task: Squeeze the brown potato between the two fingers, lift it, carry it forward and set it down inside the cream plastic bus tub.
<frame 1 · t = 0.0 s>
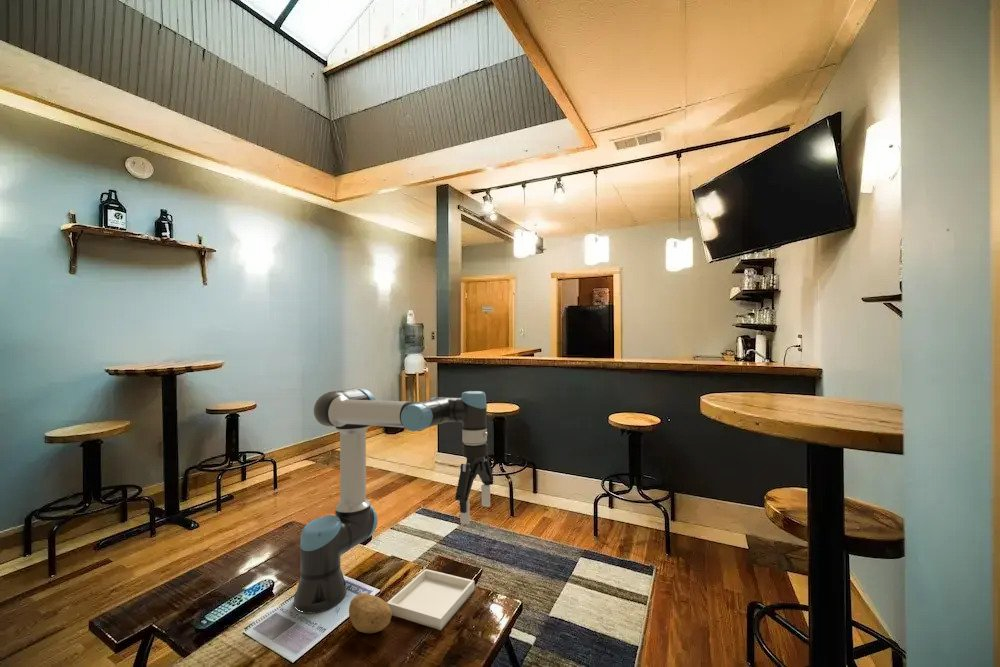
hand: (476, 514, 118), 28 cm above the table, fingers open, 13 cm apart
bin: (432, 601, 121), on the table
potato: (370, 629, 110), on the table
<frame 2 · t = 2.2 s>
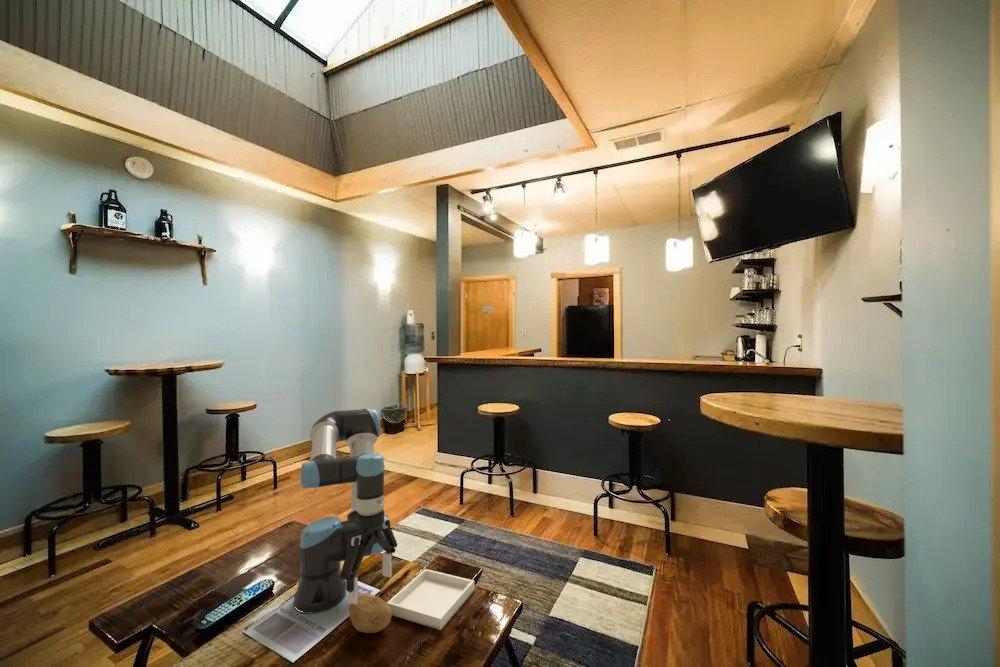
hand: (370, 588, 110), 11 cm above the table, fingers open, 13 cm apart
nothing on the table moved.
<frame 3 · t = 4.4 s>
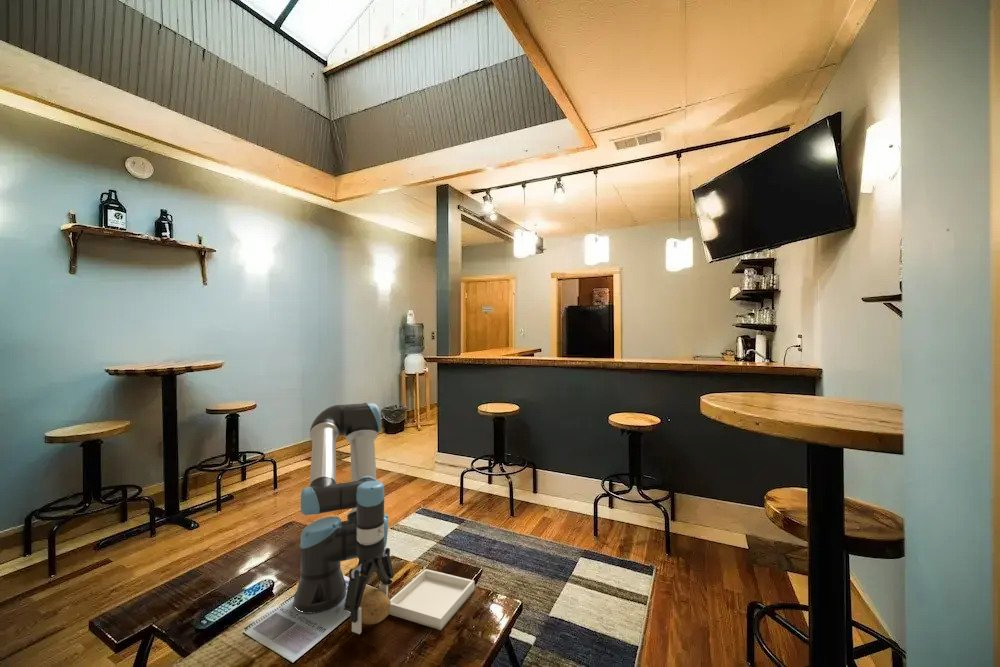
hand: (370, 619, 110), 2 cm above the table, fingers closed on potato, 10 cm apart
potato: (370, 620, 110), point 2 cm above the table, touching gripper
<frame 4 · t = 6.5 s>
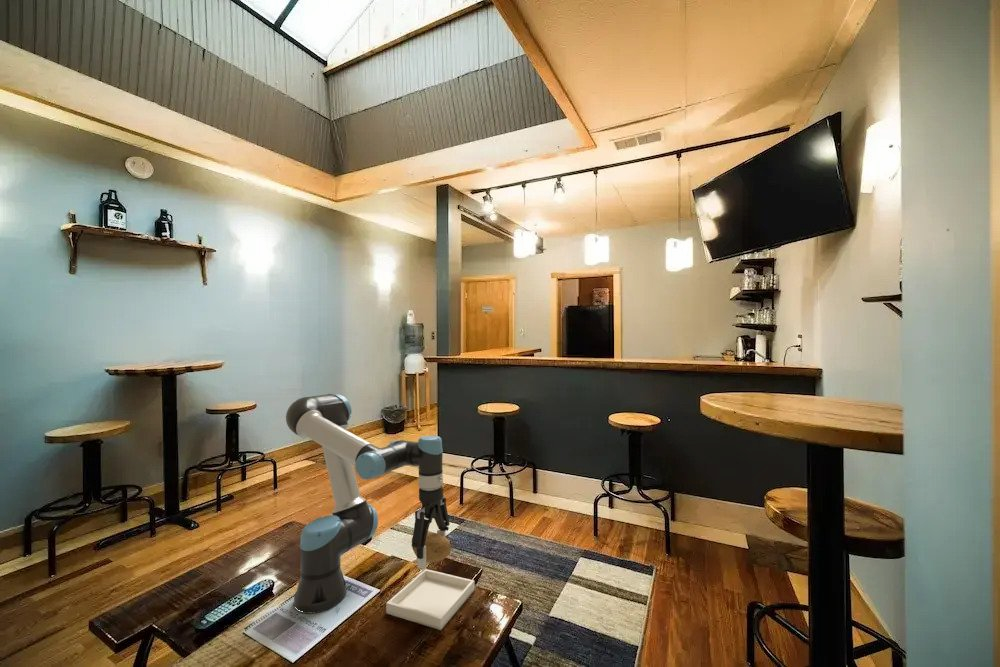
hand: (432, 559, 122), 13 cm above the table, fingers closed on potato, 10 cm apart
potato: (431, 561, 122), point 12 cm above the table, touching gripper
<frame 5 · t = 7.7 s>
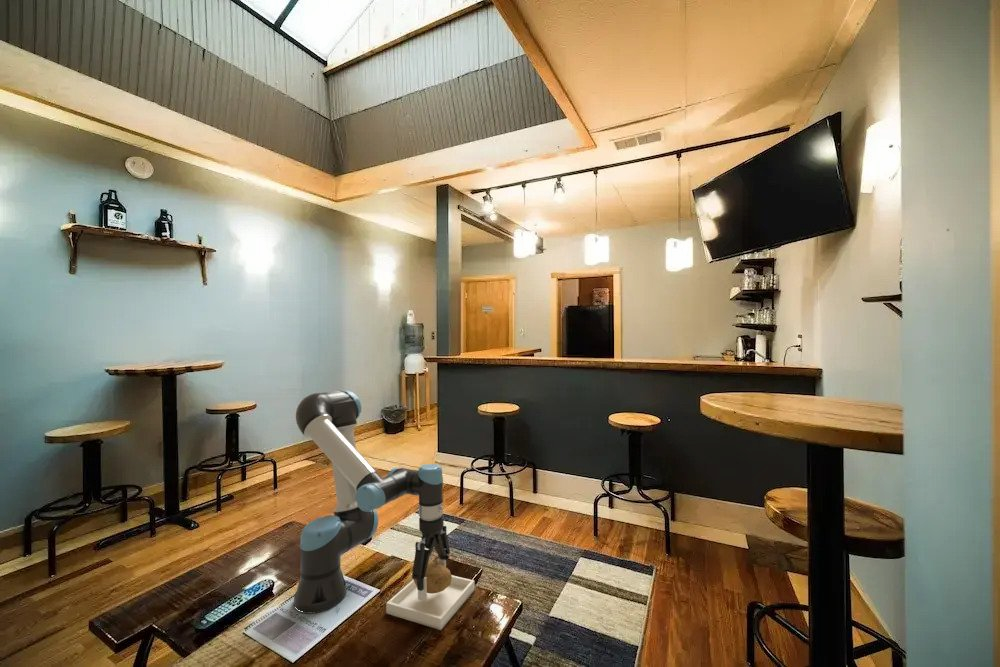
hand: (432, 589, 122), 3 cm above the table, fingers closed on potato, 10 cm apart
potato: (432, 591, 121), point 3 cm above the table, touching gripper
when the fingers open (3 cm above the table, at t = 8.4 s): potato drops 2 cm, resting on bin.
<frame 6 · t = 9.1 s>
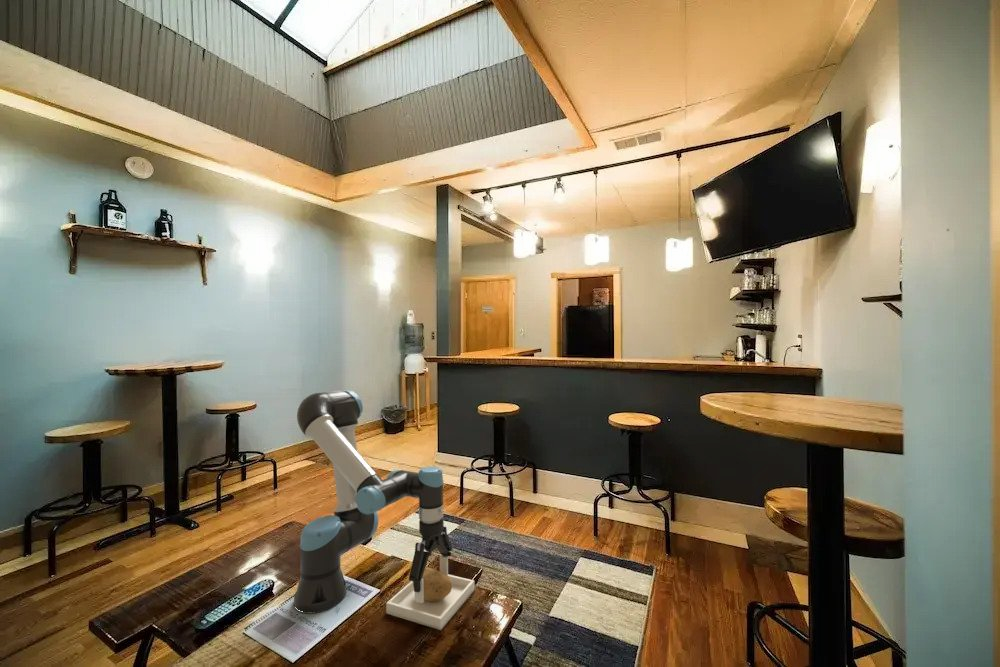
hand: (432, 588, 122), 4 cm above the table, fingers open, 13 cm apart
potato: (432, 599, 122), resting on bin
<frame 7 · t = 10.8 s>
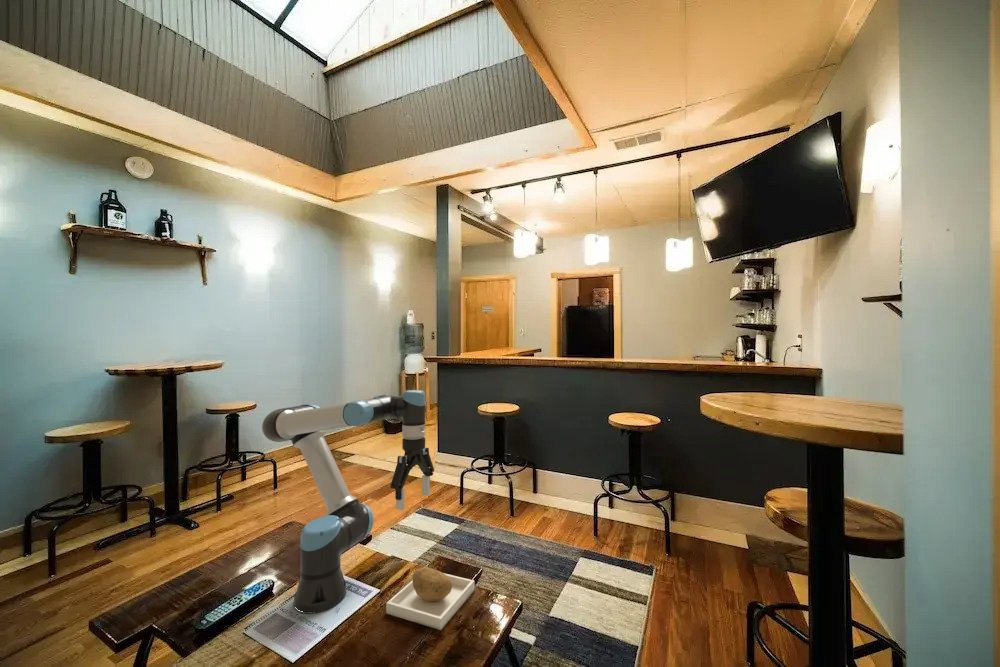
hand: (413, 501, 130), 28 cm above the table, fingers open, 13 cm apart
nothing on the table moved.
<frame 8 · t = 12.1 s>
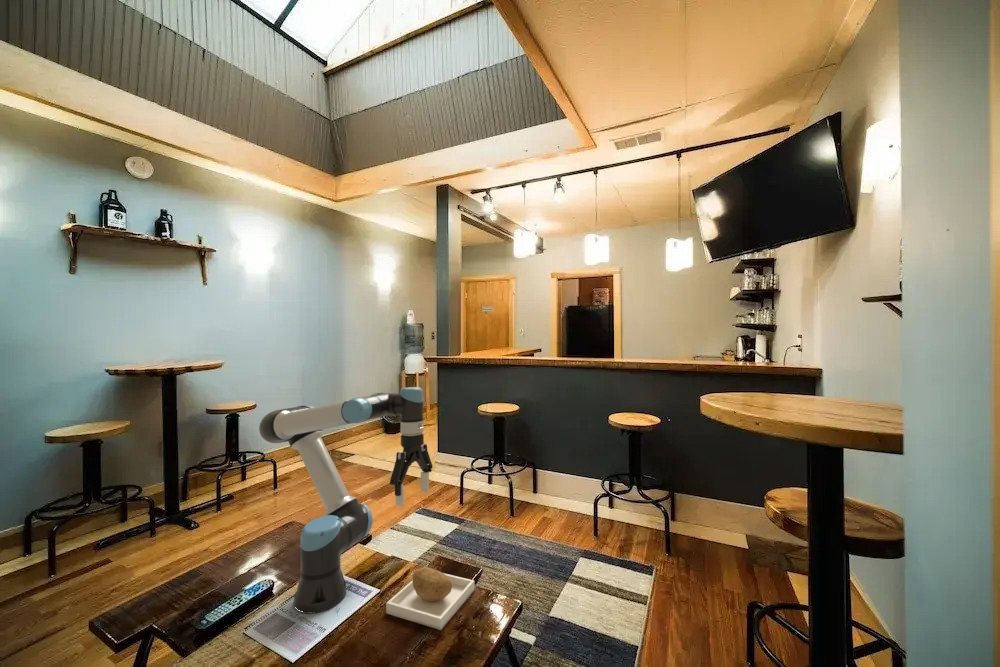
hand: (412, 498, 131), 29 cm above the table, fingers open, 13 cm apart
nothing on the table moved.
at the end: potato inside the target area on the bin (0.4 cm from its centre), point 0.4 cm above the bin's base; the gripper is holding nothing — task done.
